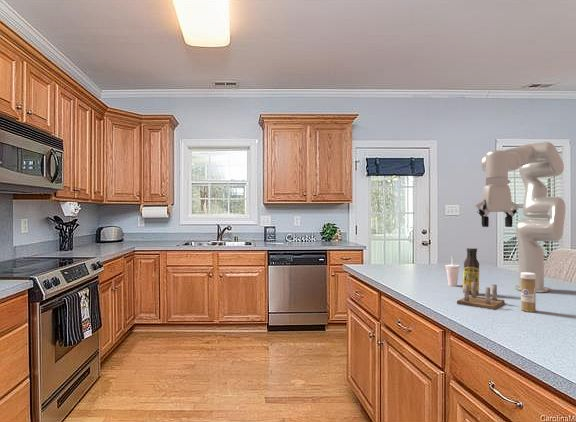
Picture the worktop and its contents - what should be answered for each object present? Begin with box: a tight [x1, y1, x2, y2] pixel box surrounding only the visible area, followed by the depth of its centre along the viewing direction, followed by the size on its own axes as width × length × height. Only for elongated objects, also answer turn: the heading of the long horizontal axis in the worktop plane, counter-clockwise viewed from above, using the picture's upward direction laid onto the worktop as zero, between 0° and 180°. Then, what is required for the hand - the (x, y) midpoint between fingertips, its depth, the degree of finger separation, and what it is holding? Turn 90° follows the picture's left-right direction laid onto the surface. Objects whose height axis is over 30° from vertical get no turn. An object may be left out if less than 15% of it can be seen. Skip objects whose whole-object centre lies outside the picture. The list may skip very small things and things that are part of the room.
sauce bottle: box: [462, 247, 480, 296], centre depth 164 cm, size 6×6×20 cm
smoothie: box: [444, 255, 461, 287], centre depth 183 cm, size 6×6×14 cm
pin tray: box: [456, 282, 506, 311], centre depth 147 cm, size 13×13×7 cm
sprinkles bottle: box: [520, 272, 537, 313], centre depth 135 cm, size 5×5×14 cm
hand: (497, 226), depth 147 cm, fingers open, 9 cm apart
